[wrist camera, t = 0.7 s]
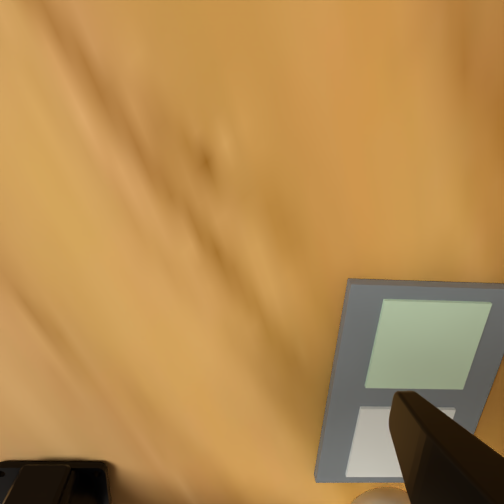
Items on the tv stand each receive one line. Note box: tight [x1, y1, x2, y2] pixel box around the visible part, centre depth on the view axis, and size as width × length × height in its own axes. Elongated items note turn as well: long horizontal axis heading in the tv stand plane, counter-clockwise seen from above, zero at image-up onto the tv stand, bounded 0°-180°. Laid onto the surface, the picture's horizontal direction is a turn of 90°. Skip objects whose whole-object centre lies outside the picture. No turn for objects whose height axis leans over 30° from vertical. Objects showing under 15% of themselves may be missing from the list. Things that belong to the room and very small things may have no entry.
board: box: [314, 279, 504, 483], centre depth 24 cm, size 14×9×1 cm, turn 177°
